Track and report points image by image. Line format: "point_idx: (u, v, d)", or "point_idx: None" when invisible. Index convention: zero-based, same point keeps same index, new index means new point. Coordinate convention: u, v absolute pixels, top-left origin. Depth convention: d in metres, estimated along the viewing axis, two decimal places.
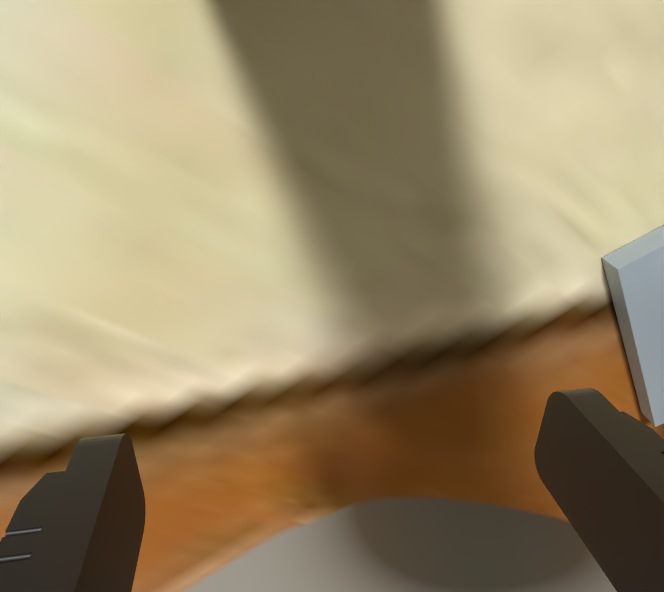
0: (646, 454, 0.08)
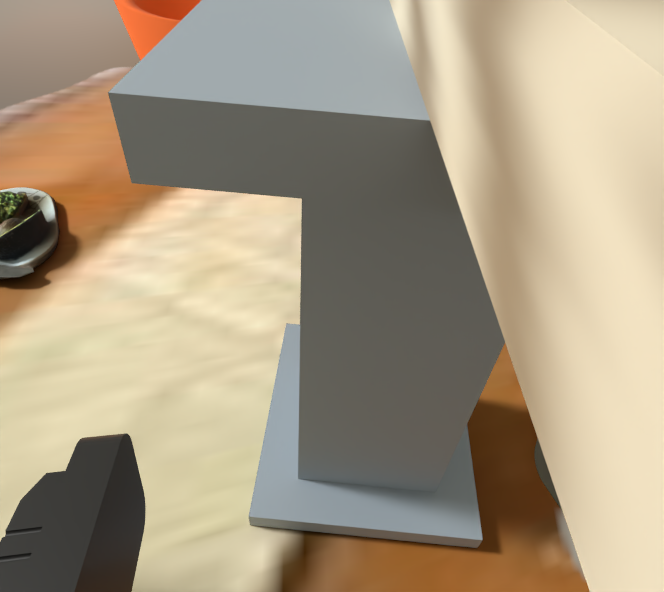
0: None
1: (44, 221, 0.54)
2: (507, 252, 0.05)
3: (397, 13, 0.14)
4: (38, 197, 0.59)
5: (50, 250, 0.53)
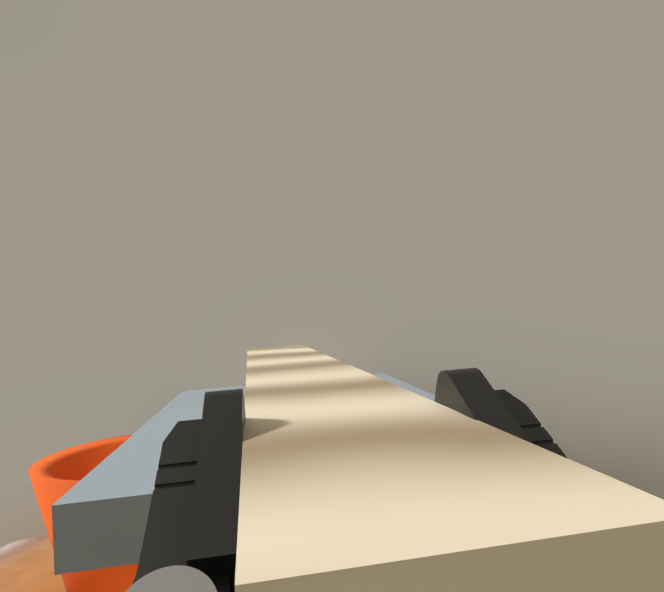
0: (504, 425, 0.08)
1: None
2: None
3: None
4: None
5: None
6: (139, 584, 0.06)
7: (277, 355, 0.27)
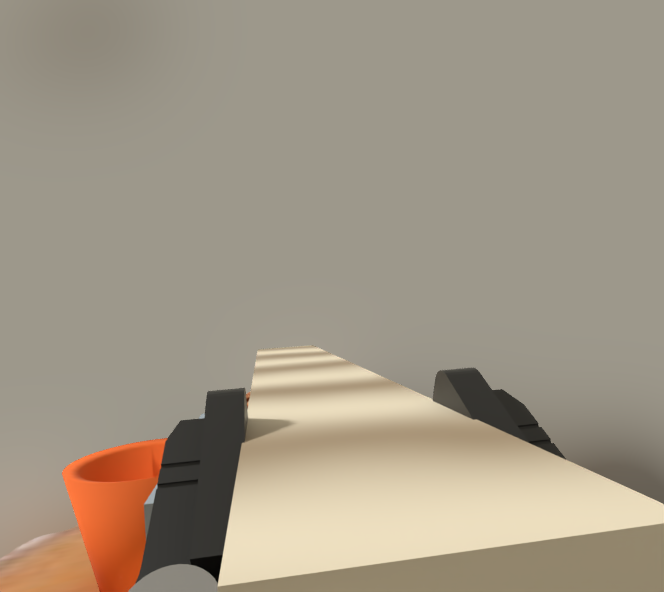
0: (501, 425, 0.08)
1: None
2: None
3: None
4: None
5: None
6: (143, 583, 0.06)
7: (286, 355, 0.27)
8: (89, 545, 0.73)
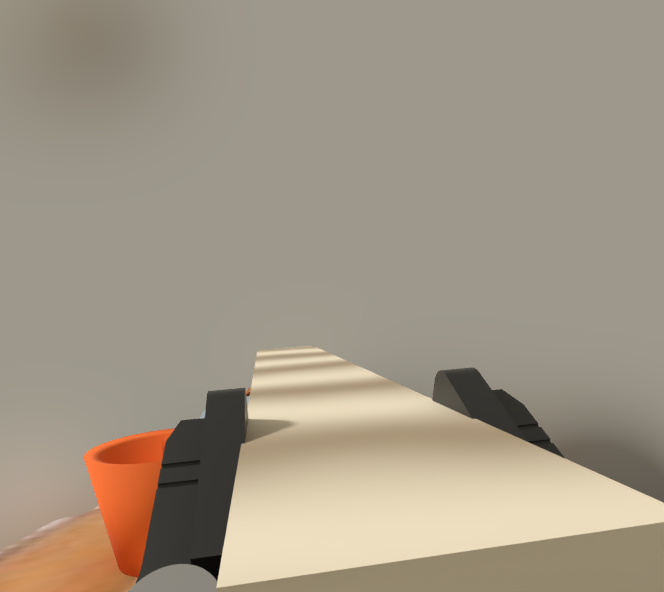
0: (501, 425, 0.08)
1: None
2: None
3: None
4: None
5: None
6: (143, 583, 0.06)
7: (286, 356, 0.27)
8: (108, 521, 0.82)
